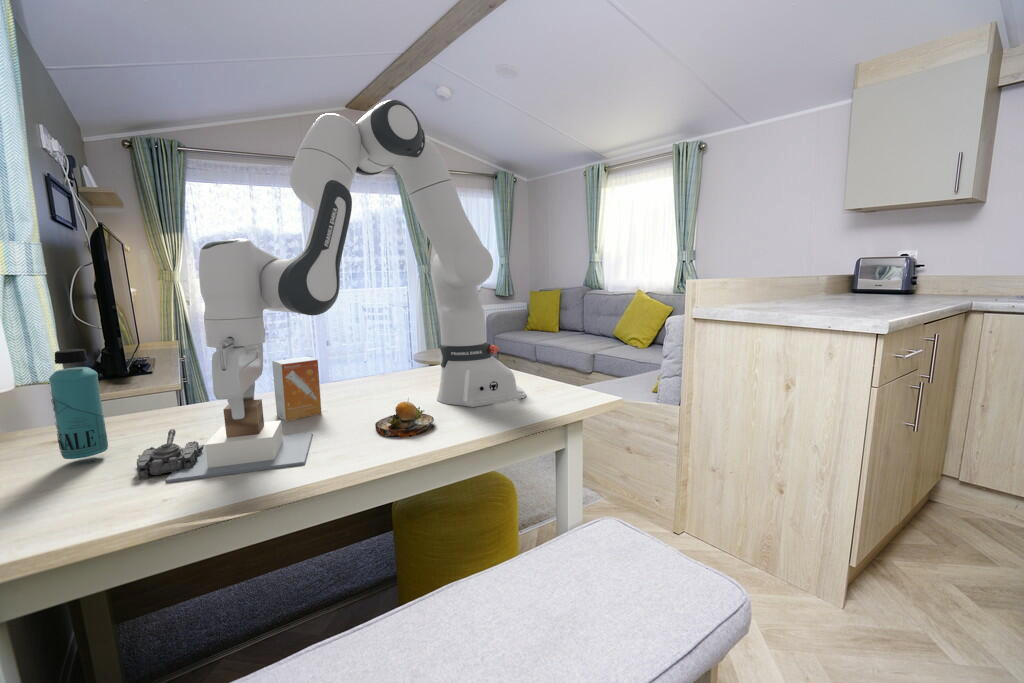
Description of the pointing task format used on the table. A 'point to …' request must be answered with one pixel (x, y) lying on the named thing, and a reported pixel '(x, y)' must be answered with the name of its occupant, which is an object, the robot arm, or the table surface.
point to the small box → (296, 388)
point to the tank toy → (167, 457)
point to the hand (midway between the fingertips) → (244, 412)
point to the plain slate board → (288, 455)
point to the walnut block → (245, 420)
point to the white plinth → (244, 446)
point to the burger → (405, 422)
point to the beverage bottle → (77, 407)
